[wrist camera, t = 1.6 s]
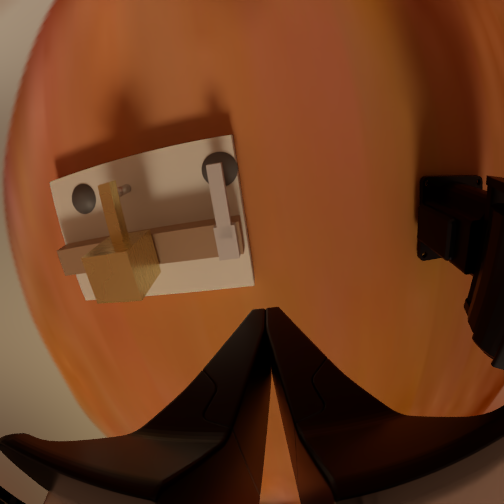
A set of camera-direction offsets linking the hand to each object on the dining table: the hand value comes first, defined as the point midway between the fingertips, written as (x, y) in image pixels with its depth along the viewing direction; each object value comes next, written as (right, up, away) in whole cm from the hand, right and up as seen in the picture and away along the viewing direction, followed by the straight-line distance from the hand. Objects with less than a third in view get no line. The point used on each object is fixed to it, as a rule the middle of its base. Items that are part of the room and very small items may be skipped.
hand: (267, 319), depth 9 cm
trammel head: (-8, +4, +9) cm, 13 cm away
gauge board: (-8, +4, +10) cm, 14 cm away
